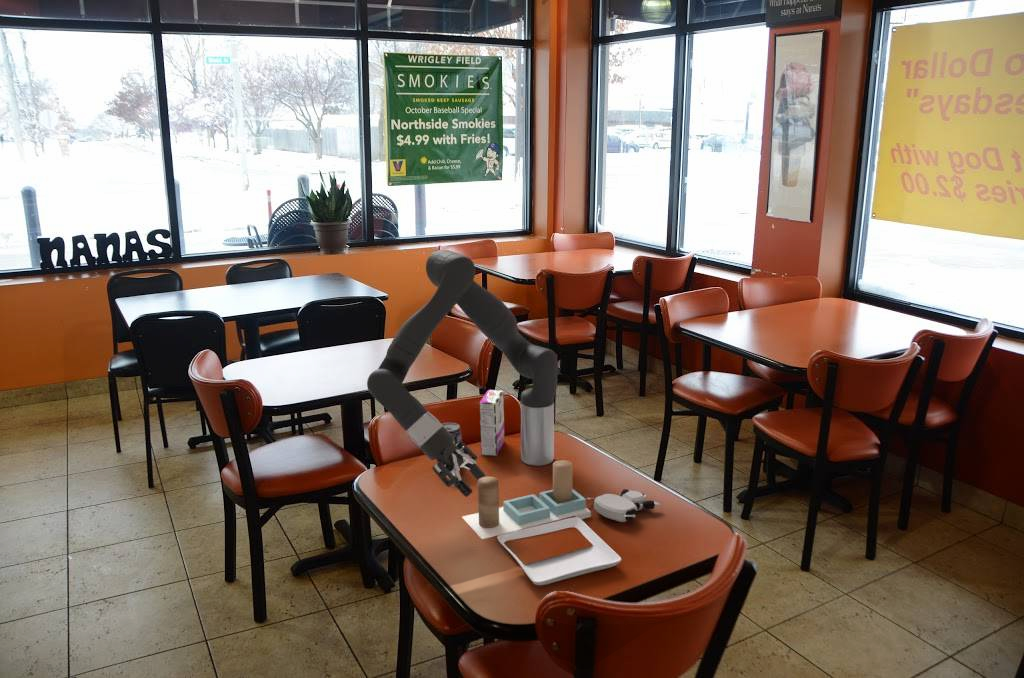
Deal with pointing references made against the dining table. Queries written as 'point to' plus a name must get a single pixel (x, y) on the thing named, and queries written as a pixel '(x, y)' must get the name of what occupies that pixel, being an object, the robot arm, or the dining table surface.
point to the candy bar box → (492, 422)
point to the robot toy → (622, 505)
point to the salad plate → (568, 562)
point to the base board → (537, 506)
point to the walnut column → (488, 502)
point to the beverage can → (454, 431)
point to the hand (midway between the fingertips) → (476, 486)
